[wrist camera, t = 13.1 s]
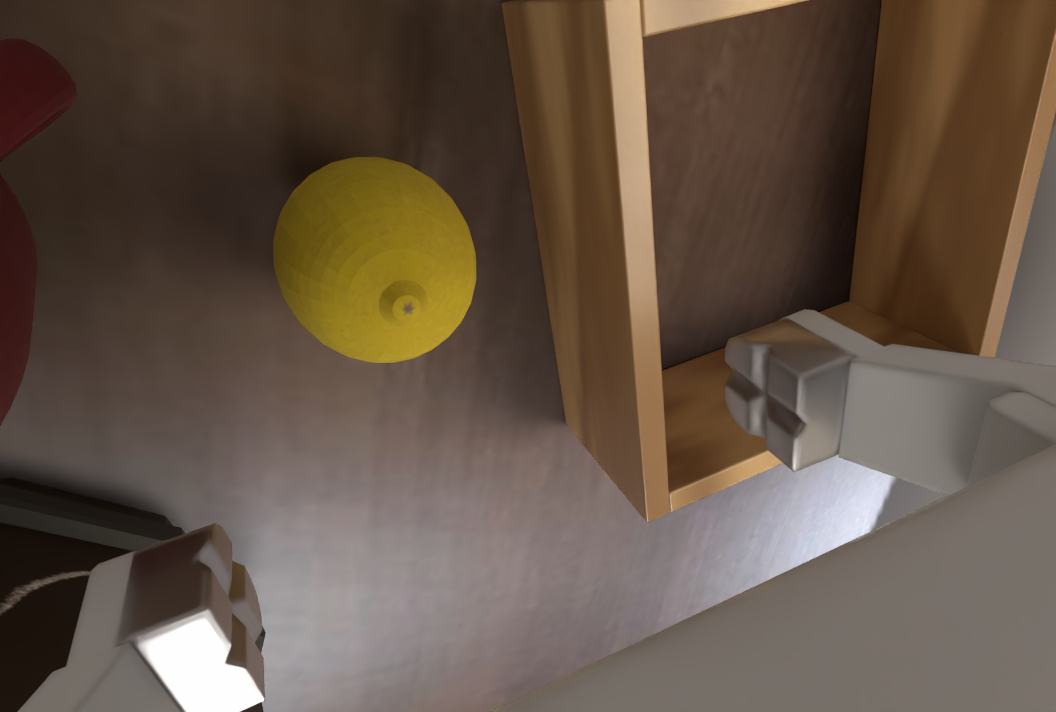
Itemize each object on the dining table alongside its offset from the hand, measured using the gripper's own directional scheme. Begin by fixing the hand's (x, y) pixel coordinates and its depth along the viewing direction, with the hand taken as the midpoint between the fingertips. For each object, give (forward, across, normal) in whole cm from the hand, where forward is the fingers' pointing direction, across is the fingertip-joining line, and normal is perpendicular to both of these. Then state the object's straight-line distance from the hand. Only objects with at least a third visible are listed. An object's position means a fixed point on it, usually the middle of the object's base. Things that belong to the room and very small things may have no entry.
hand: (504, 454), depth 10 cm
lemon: (+15, 0, 0) cm, 15 cm away
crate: (+15, -15, +3) cm, 21 cm away
